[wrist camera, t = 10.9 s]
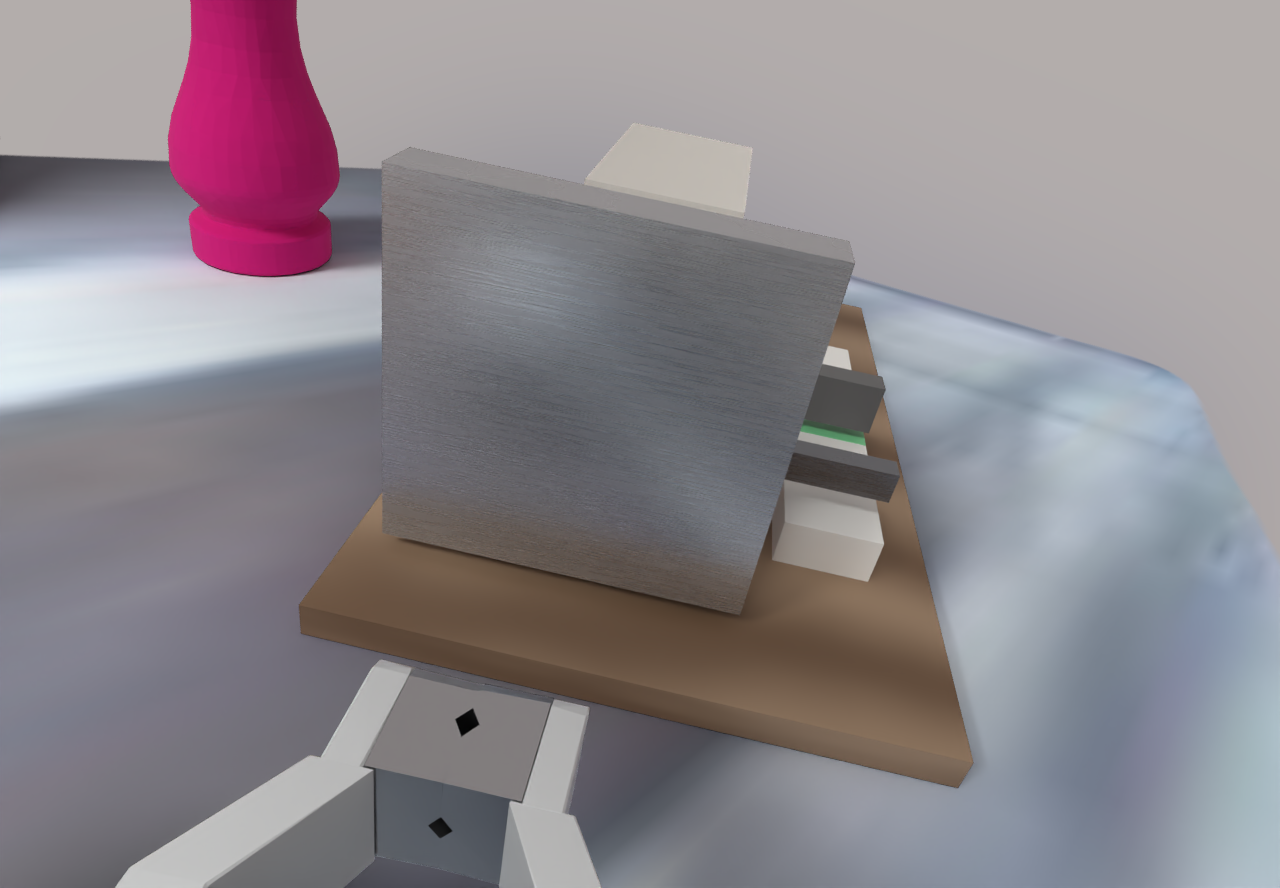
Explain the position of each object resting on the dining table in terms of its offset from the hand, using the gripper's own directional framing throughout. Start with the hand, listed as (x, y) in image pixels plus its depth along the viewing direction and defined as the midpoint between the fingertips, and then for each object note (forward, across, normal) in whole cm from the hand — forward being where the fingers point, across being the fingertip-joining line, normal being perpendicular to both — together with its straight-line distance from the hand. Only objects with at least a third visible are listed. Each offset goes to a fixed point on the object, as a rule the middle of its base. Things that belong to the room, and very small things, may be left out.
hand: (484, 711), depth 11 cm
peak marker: (+19, -7, +4) cm, 21 cm away
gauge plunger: (+19, -2, +5) cm, 20 cm away
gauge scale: (+19, -7, +6) cm, 22 cm away
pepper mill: (+29, +20, +7) cm, 36 cm away
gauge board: (+21, -2, +7) cm, 23 cm away
